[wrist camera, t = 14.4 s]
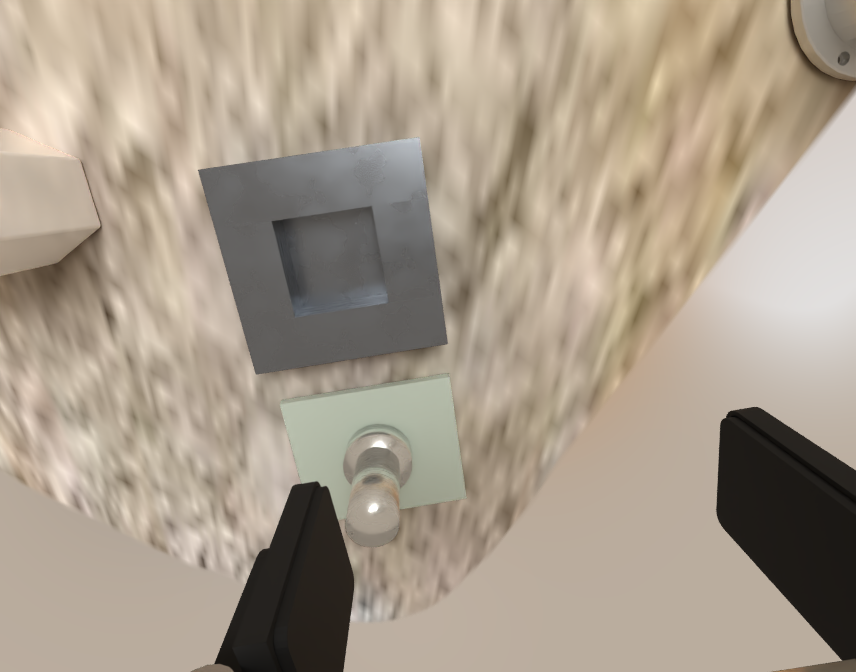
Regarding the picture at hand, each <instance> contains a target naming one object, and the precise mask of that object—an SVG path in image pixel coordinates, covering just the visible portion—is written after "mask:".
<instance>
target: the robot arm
mask: <svg viewBox="0 0 856 672" xmlns="http://www.w3.org/2000/svg"><path fill="white" fill-rule="evenodd" d="M791 17H792V22H793V27H794V31H795V35H796V37H797V39H798V42H799V44H800V47H801V49H802V50H803V52H804V53H805V54H806V56H807V57H808V59H809V60H810V61H811V62H812V63H813V64H814V65H815V66H816V67H817V68H819V69H820V70H821V71H822V72H824V73H826V74H828V75H830V76H832V77H835V78H838V79H843V80H848V81H856V0H791ZM718 466H719V467H718V487H717V509H716V510H717V517H718V520H719V522H720V524H721V526H722V527H723V528H724V530H725V531H726V532H727V533H728V534H729V535H730V536H731V537H732V538H733V540H734V541H735V542H736V543H737V544H738V545H739V546H740V547H741V548H742V550H743V551H744V552H745V553H746V554H747V555H748V556H749V557H750V559H752V561H753V562H754V563H755V564H756V565H757V566H758V567H759V568H760V570H761V571H762V572H763V573H764V574H765V575H766V576H767V577H768V579H769V580H770V581H771V582H772V583H773V584H774V585H775V586H776V587H777V588H778V589H779V591H780V592H781V593H782V594H783V595H784V596H785V597H786V599H788V601H789V602H790V603H791V604H792V605H793V606H794V607H795V609H797V610H798V612H799V613H800V614H801V615H802V616H803V617H804V618H805V620H806V621H807V622H808V623H809V624H810V625H811V626H812V627H813V628H814V630H815V631H816V632H817V633H818V634H819V635H820V636H821V637H822V638H823V640H824V641H825V642H826V643H827V644H828V645H829V646H830V647H831V648H832V650H833V651H834V652H835V653H836V654H837V655H838V656H839V657H840V659H841V660H842V661H838V662H832V663H825V664H818V665H812V666H806V667H799V668H793V669H786V670H780V671H773V672H856V470H854V469H853V468H851V467H849V466H848V465H847V464H845V463H844V462H842V461H840V460H839V459H837V458H836V457H834V456H833V455H831V454H830V453H828V452H827V451H825V450H824V449H822V448H820V447H819V446H817V445H816V444H814V443H813V442H811V441H810V440H808V439H807V438H805V437H804V436H802V435H800V434H799V433H798V432H796V431H794V430H793V429H791V428H790V427H788V426H787V425H785V424H784V423H782V422H781V421H779V420H778V419H776V418H775V417H773V416H772V415H770V414H769V413H767V412H765V411H764V410H762V409H761V408H758V407H751V408H745V409H739V410H734V411H730V412H728V414H727V416H726V418H725V419H723V420H722V421H721V425H720V445H719V465H718ZM353 593H354V576H353V571H352V567H351V564H350V560H349V557H348V553H347V550H346V547H345V543H344V540H343V536H342V533H341V529H340V526H339V522H338V519H337V515H336V512H335V508H334V505H333V501H332V498H331V494H330V491H329V488H328V487H327V486H323V487H321V485H320V483H319V482H318V481H315V482H309V483H303V484H297V485H294V486H293V487H292V489H291V491H290V494H289V497H288V499H287V502H286V505H285V507H284V510H283V513H282V515H281V518H280V521H279V523H278V526H277V529H276V531H275V534H274V537H273V539H272V542H271V545H270V548H268V549H263V550H262V551H260V552H259V554H258V556H257V558H256V560H255V563H254V565H253V568H252V570H251V573H250V575H249V578H248V580H247V583H246V585H245V588H244V590H243V593H242V596H241V598H240V601H239V603H238V606H237V608H236V611H235V613H234V616H233V618H232V621H231V623H230V626H229V629H228V631H227V633H226V636H225V638H224V641H223V643H222V646H221V648H220V651H219V653H218V656H217V658H216V661H215V664H213V665H206V666H203V667H200V668H198V669H195V670H193V671H191V672H343V669H344V662H345V654H346V646H347V639H348V630H349V623H350V616H351V608H352V600H353Z"/></svg>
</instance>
